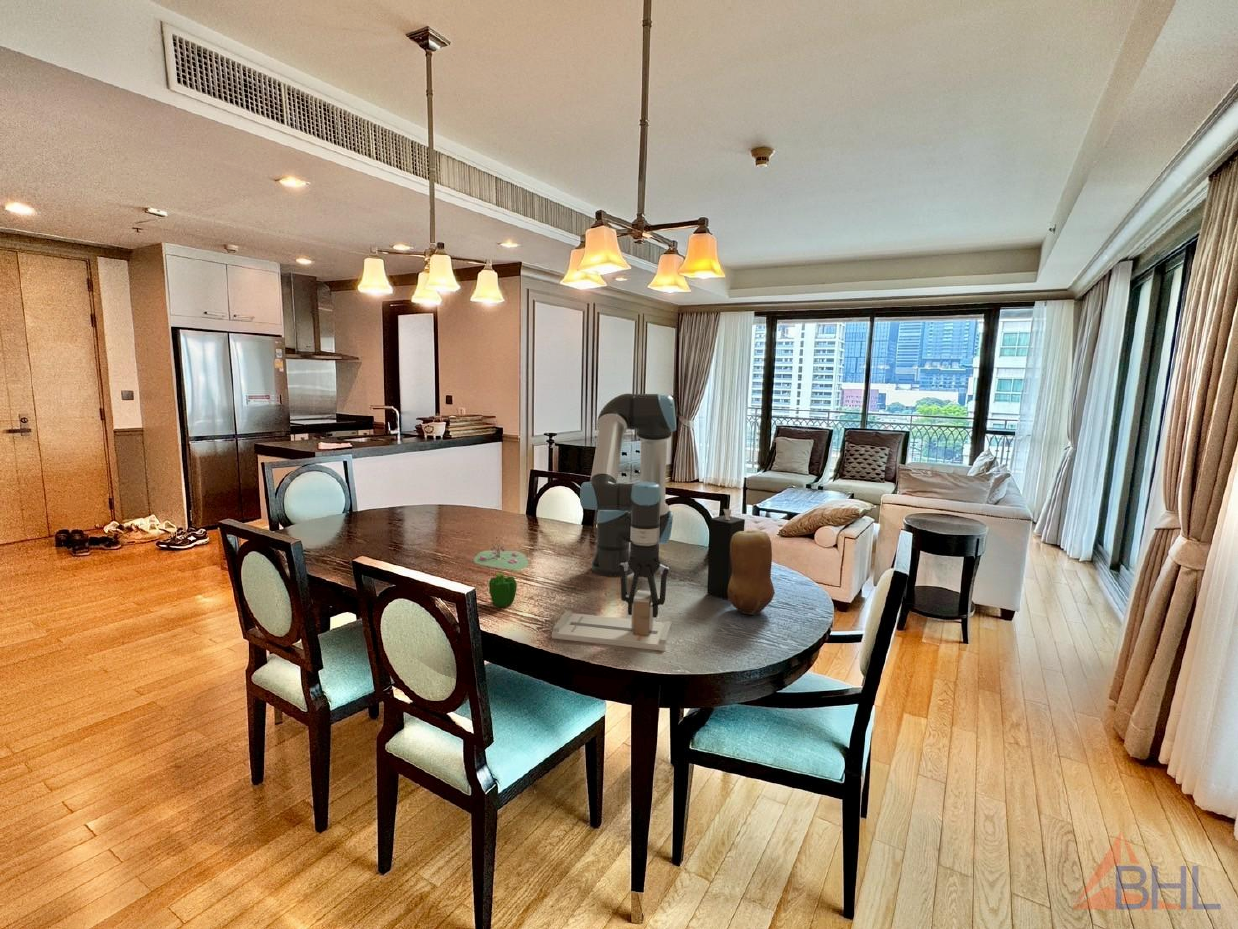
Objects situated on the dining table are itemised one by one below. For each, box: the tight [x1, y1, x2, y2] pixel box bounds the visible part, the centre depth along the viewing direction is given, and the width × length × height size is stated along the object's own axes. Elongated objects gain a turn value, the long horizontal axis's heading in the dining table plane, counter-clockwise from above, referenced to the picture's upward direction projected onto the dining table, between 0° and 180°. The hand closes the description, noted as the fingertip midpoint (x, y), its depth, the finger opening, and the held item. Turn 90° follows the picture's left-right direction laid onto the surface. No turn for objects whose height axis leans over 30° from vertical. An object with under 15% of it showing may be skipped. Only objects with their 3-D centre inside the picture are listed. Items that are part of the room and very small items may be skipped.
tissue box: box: [706, 508, 746, 600], centre depth 189 cm, size 8×8×28 cm
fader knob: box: [633, 589, 652, 636], centre depth 157 cm, size 6×4×10 cm, turn 168°
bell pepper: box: [488, 572, 518, 608], centre depth 179 cm, size 8×8×10 cm
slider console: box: [551, 610, 673, 652], centre depth 160 cm, size 14×30×2 cm, turn 78°
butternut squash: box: [728, 529, 776, 616], centre depth 174 cm, size 14×13×25 cm
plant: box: [473, 536, 530, 572], centre depth 221 cm, size 25×21×9 cm
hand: (642, 627), depth 158 cm, fingers closed on fader knob, 4 cm apart
